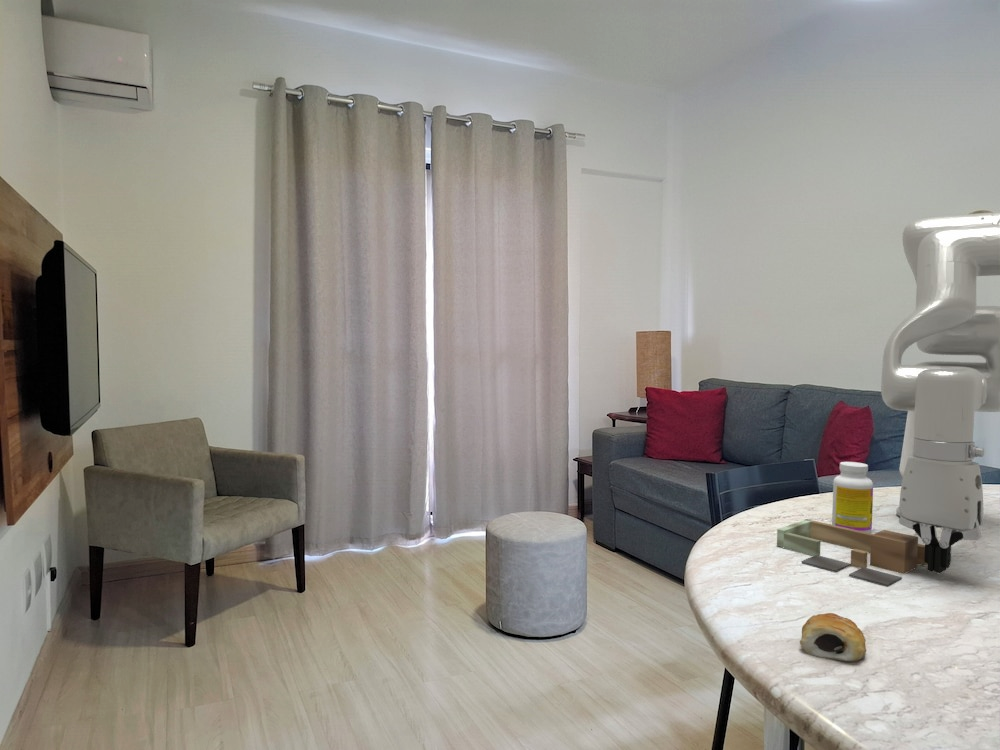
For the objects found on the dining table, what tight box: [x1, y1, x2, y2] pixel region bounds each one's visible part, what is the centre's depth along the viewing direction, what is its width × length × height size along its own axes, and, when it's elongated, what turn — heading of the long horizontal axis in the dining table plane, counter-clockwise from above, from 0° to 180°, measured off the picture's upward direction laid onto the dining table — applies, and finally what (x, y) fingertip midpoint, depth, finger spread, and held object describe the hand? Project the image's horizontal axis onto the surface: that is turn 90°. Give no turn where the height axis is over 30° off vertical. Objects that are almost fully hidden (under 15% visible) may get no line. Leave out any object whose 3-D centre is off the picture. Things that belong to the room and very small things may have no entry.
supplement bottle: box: [831, 461, 874, 534], centre depth 126 cm, size 7×7×13 cm
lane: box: [776, 519, 927, 587], centre depth 111 cm, size 15×20×3 cm
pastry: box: [799, 612, 867, 663], centre depth 80 cm, size 9×7×4 cm
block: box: [869, 529, 918, 575], centre depth 107 cm, size 5×5×5 cm
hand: (936, 570), depth 102 cm, fingers closed
